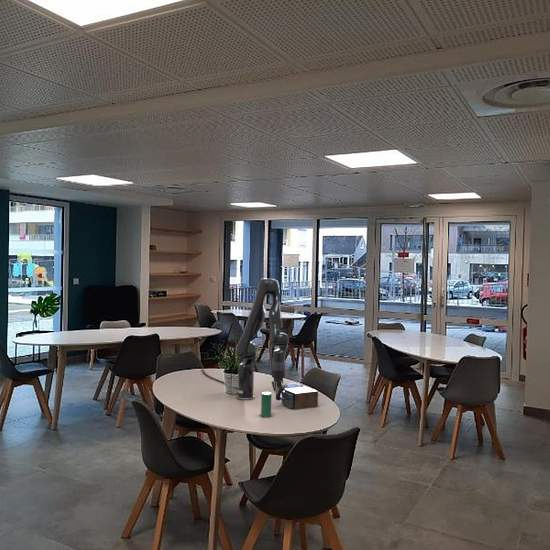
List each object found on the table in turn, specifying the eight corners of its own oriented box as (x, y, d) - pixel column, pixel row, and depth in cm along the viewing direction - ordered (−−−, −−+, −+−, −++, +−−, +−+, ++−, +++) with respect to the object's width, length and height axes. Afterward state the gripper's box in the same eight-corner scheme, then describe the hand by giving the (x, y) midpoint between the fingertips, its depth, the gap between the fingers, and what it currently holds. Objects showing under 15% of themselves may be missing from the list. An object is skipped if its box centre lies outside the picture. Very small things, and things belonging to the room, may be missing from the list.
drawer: (284, 408, 293) (284, 396, 293) (274, 403, 303) (275, 391, 303) (312, 405, 301) (312, 393, 301) (302, 400, 311) (302, 388, 311)
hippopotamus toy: (309, 397, 323) (310, 381, 323) (290, 400, 314) (290, 384, 314) (298, 394, 332) (298, 378, 332) (279, 397, 323) (279, 381, 323)
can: (259, 415, 282) (259, 392, 282) (268, 414, 284) (268, 391, 284) (263, 417, 277) (264, 394, 277) (272, 416, 280) (273, 393, 280)
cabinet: (294, 409, 295) (295, 393, 295) (284, 404, 307) (284, 388, 307) (317, 406, 302) (318, 391, 302) (306, 401, 313) (306, 386, 313)
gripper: (290, 370, 293) (289, 402, 293) (279, 366, 305) (278, 396, 305) (278, 371, 290) (277, 403, 290) (267, 367, 302) (266, 398, 302)
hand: (278, 399), depth 297 cm, fingers closed
